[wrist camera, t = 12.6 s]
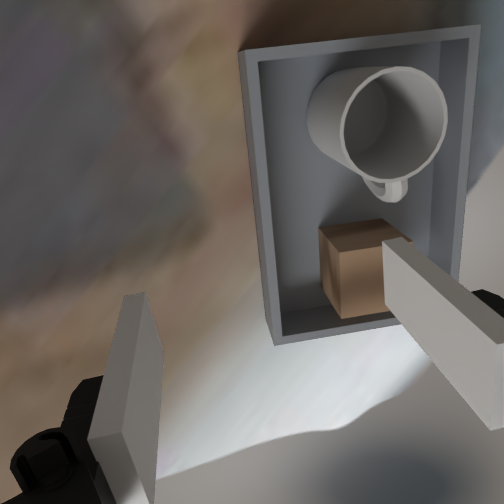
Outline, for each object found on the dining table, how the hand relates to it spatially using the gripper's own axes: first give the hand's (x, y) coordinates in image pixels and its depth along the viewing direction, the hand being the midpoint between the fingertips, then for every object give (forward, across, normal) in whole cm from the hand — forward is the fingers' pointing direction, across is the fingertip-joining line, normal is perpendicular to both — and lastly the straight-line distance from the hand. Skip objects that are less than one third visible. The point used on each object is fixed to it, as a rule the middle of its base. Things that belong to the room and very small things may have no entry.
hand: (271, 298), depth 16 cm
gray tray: (+23, +10, -4) cm, 25 cm away
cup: (+23, +11, +1) cm, 25 cm away
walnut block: (+22, +10, -10) cm, 26 cm away
